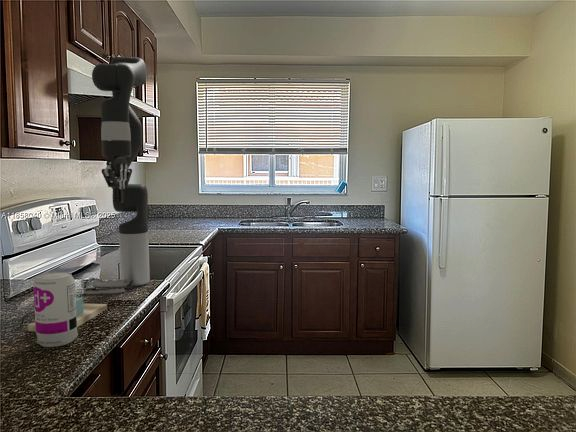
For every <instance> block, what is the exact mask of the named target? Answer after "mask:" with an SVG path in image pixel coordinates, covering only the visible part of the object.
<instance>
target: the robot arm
mask: <svg viewBox="0 0 576 432" xmlns="http://www.w3.org/2000/svg"><path fill="white" fill-rule="evenodd" d="M147 76H148V75H147V65H146V63H145V61H144V59H142V58H140V57H134V56H114V57H112V59H111V61H110V63H98V64H96V65H95V66H94V67H93V69H92V73H91V80H92V82H93V85H94V86H95V87H96V88H97V89H98V90H99V91H102V92H112V93H111V94H112V95H111V96H112V98H111V99H105V100H103V101H101V105H100V111H101V112H100V113H101V114H100V115H101V129H100V132H101V133H100V134H101V135H100V136H101V156H102V157H103V158H106V162H105V163H106V167H105V168H101V174H102V176H103V178H104V181H105V182H106V185H107V186H108V188H111V189H112V205H113V206H112V207H113V209H114V211H115V212H116V213H117V212H118V213H136V216H134V217H133V218H132V219H130V220H128V221H125V222H122V223H120V224H119V226H118V239H119V241H118V242H119V243H118V244H119V266H120V267H119V268H120V270H119V271H120V280H123V281H124V282H125V283H128V282H129V281H132V280H133V287H135V286H142V285H146V284H149V283H150V278H151V276H150V275H151V274H150V273H151V272H150V253H149V252H150V251H149V249H150V247H149V226H148V225H149V224H148V223H149V220H148V219H149V218H148V212H149V211H148V210H149V209H148V205H149V204H148V202H149V196H148V195H149V193H148V188H147V186H146V185H145V184H142V183H130V180H131V177H132V173H133V169H132V168H130V166H131V165H132V163H133V161H134V160H135V158H136V157H137V155H138V154H139V152H140V150H141V149H142V146H143V125H142V123H141V121H140V119H139V117H138V116H137V114H136V112H135V111H134V110H133V108H132V107H131V105H130V100H131V96H132V91H133V88H134V87H141V86H144V85H145V84H146V81H147Z"/></svg>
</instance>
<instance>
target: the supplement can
mask: <svg viewBox="0 0 576 432" xmlns="http://www.w3.org/2000/svg"><path fill="white" fill-rule="evenodd" d="M32 289H33V290H32V291H33V303H34V304H33V305H34V308H33V309H34V322H35V325H36V331H35V340H36V343H37V344H38V345H40V346H41V347H45V348H54V347H55V348H57V347H62V346H65V345H68V344H71V343H72V342H74V341H75V339H77V337H78V327H77V314H76V298H77V296H76V281H75V278H74V277H73V275H72V273H71V272H67V271H54V272H47V273H42V274H39V275H37V276H36V277H35V280H34V282H33V284H32Z"/></svg>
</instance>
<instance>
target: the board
mask: <svg viewBox="0 0 576 432" xmlns="http://www.w3.org/2000/svg"><path fill="white" fill-rule="evenodd" d="M105 310H106V311H107V310H108V304H106V303H85V302H83V311H84V313H83V314H81V315H79V316H77V328H78V327H80V326H82V325H83V324H85V323H86V322H88V321H90V320H92V319H94V318H96V317H97V316H99V315H101V314H102V313H104V312H105ZM103 311H104V312H103ZM100 313H101V314H100ZM98 314H99V315H98ZM27 328H28V329H27V331H28V332H36V325H35V321H33V322H30V323H29V324H27Z"/></svg>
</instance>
